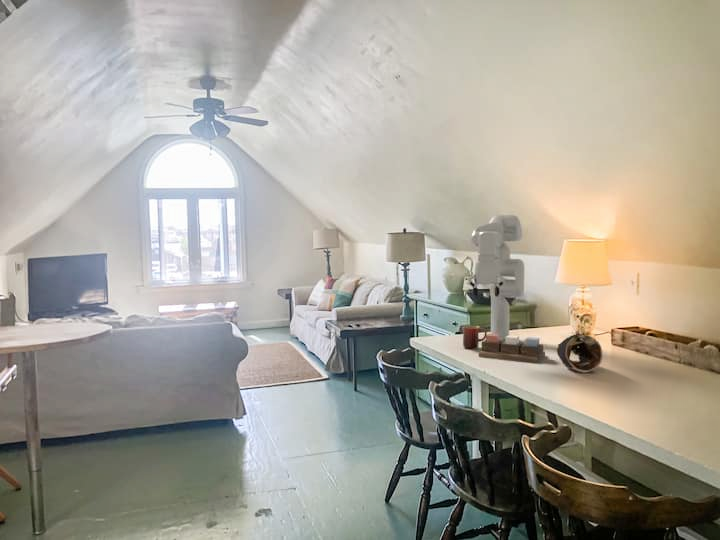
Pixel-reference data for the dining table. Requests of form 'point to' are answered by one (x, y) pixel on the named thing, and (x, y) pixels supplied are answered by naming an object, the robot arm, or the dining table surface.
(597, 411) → the dining table surface
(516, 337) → the ivory key
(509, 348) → the keypad
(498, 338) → the brick key
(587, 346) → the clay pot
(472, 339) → the mug
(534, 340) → the slate key
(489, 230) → the robot arm
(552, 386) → the dining table surface
